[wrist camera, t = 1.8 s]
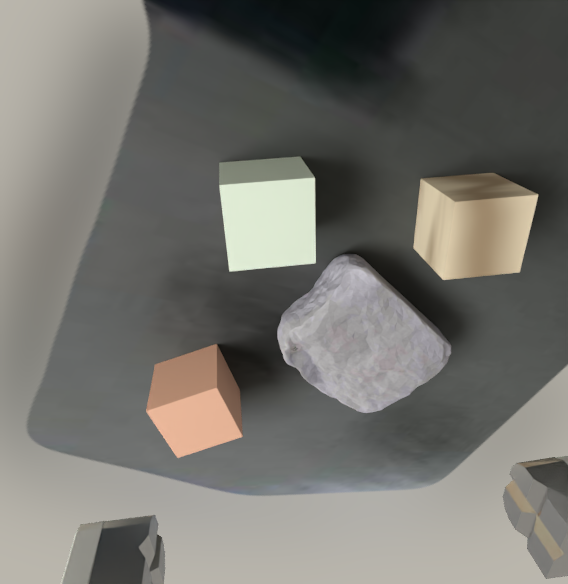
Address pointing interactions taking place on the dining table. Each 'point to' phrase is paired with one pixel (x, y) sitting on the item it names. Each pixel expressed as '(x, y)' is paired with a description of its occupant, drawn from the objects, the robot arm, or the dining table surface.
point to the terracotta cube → (195, 401)
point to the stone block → (360, 338)
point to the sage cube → (268, 213)
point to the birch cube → (473, 224)
